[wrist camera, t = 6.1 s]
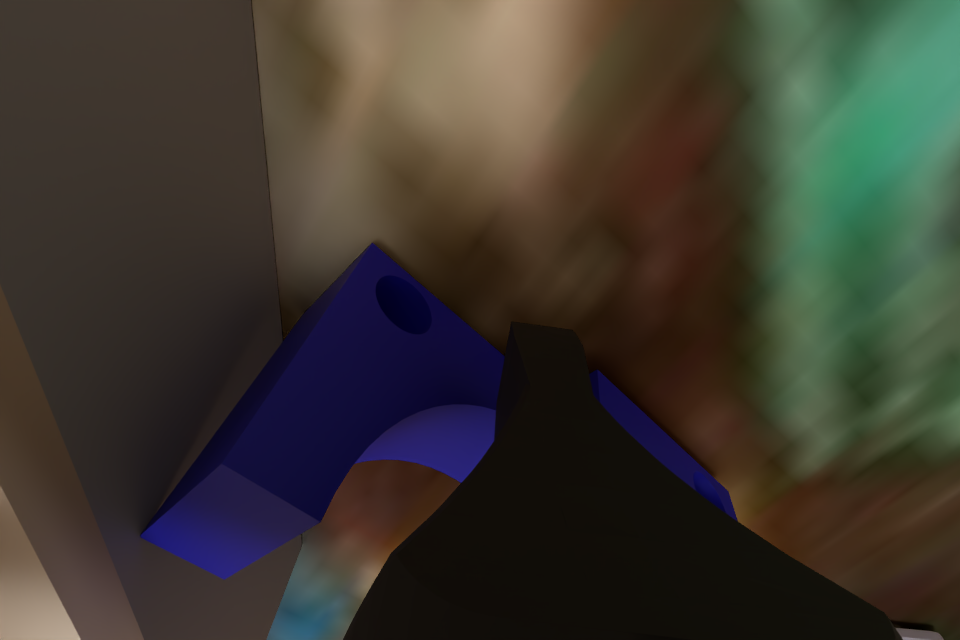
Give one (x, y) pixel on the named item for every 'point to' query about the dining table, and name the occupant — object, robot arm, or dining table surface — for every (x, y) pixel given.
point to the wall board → (127, 308)
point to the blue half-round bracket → (358, 418)
